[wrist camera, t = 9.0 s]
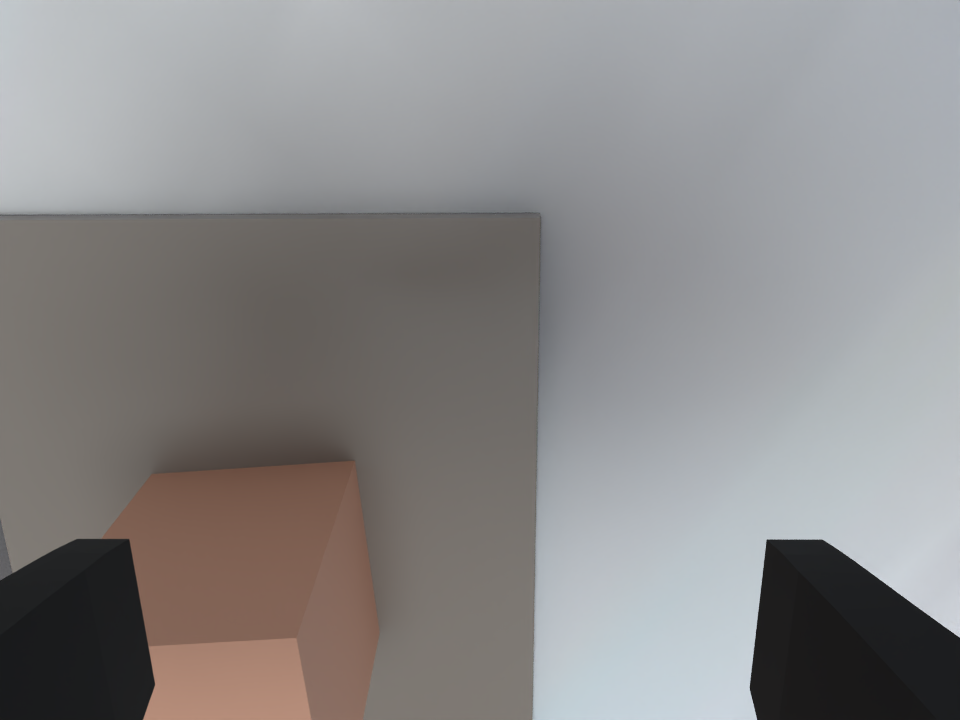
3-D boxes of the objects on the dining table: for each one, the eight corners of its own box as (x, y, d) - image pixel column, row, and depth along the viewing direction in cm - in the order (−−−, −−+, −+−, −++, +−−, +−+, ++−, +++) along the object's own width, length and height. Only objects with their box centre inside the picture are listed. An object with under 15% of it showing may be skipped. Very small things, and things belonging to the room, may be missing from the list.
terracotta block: (354, 460, 19) (296, 637, 13) (379, 632, 21) (337, 856, 15) (151, 474, 19) (9, 654, 14) (191, 643, 21) (78, 867, 15)
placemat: (539, 213, 18) (540, 217, 17) (529, 817, 23) (530, 833, 23) (-52, 215, 18) (-66, 220, 17) (78, 813, 23) (69, 829, 23)
